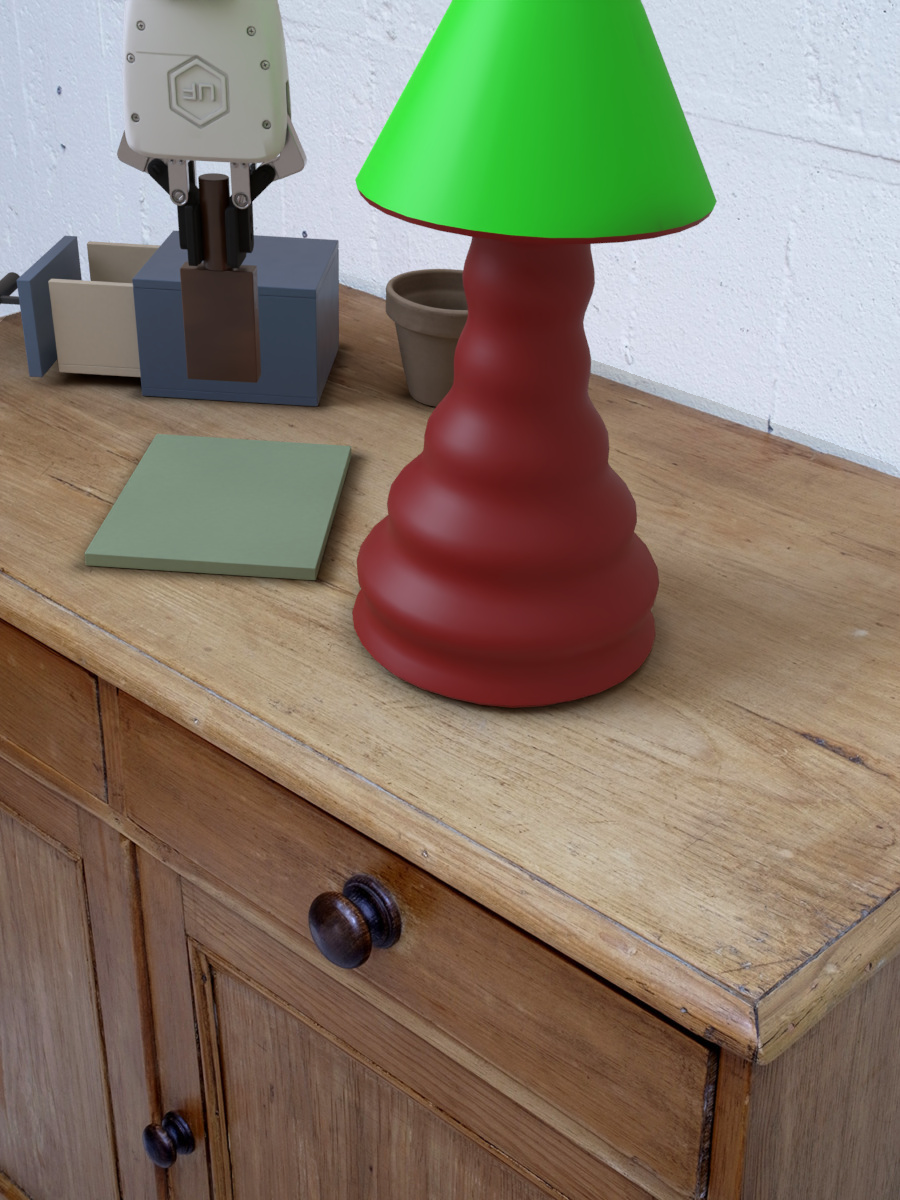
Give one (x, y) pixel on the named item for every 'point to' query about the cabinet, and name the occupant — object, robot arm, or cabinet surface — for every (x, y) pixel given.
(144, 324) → the cabinet
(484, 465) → the table lamp
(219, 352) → the paddle
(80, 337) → the drawer
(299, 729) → the cabinet surface
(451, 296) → the flower pot
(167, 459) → the mat
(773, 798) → the cabinet surface
